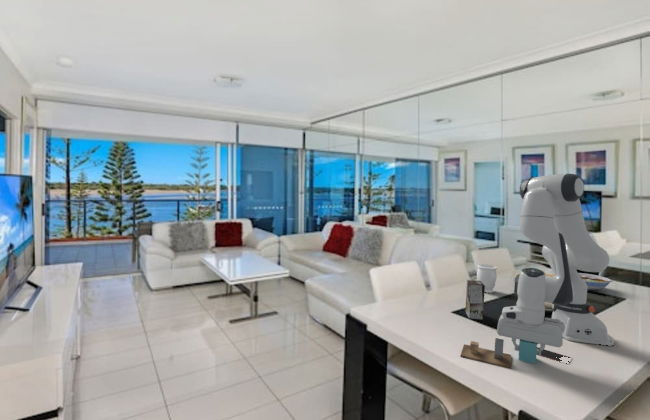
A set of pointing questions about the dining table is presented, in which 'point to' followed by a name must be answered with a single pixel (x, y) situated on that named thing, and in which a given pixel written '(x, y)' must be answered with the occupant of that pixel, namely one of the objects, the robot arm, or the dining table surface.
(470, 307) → the coffee box
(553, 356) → the smartphone
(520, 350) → the teal block
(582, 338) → the robot arm
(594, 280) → the ramen bowl
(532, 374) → the dining table surface
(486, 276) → the jar
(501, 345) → the steel post
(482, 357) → the board
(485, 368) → the dining table surface
